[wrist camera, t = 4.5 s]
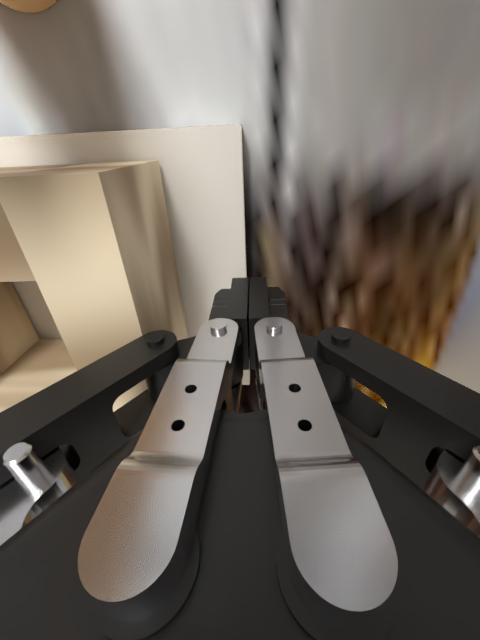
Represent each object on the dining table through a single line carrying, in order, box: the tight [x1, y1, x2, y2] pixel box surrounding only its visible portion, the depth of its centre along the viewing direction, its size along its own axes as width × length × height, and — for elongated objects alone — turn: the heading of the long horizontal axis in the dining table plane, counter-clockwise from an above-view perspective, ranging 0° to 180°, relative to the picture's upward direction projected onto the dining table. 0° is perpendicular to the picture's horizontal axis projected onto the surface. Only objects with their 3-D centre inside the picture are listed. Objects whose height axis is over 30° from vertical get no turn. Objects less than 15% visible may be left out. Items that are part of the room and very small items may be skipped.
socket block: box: [0, 160, 188, 412], centre depth 12 cm, size 11×11×5 cm
